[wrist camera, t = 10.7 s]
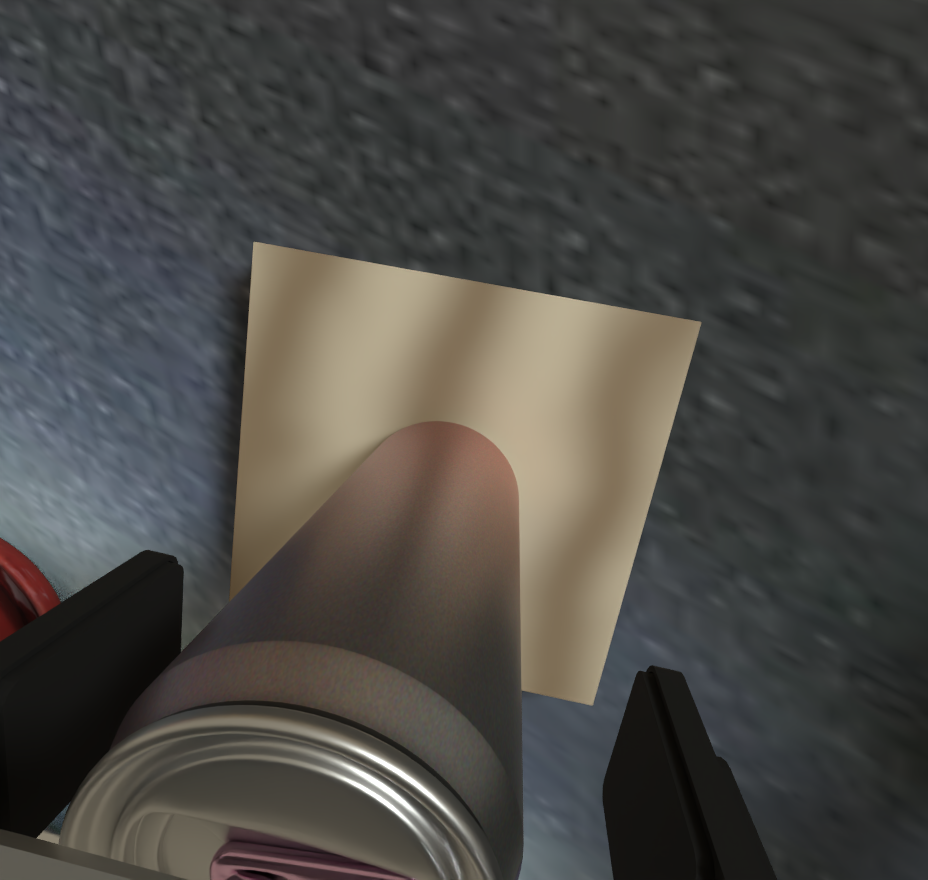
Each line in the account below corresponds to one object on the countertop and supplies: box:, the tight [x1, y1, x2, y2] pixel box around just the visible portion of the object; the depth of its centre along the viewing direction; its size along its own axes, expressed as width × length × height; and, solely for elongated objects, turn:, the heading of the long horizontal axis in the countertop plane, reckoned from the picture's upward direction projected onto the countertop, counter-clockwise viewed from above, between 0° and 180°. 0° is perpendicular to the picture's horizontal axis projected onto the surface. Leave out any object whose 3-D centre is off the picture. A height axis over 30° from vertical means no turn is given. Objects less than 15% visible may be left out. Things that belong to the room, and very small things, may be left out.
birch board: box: [229, 242, 701, 706], centre depth 22 cm, size 16×16×2 cm
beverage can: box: [59, 421, 523, 880], centre depth 14 cm, size 6×6×15 cm
